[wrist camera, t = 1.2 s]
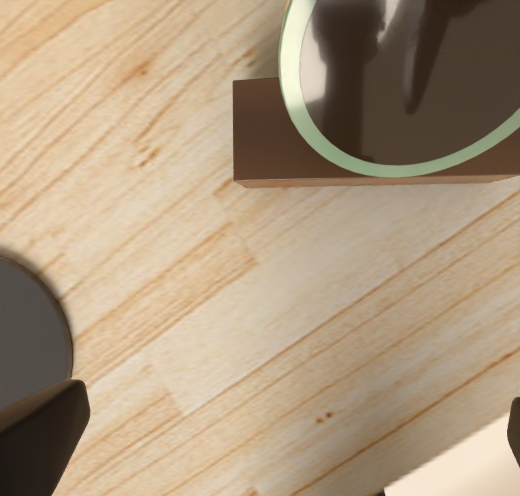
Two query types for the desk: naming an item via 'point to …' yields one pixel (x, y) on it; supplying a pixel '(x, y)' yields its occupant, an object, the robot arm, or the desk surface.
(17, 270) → the coaster
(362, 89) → the cup
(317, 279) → the desk surface
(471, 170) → the prop block
